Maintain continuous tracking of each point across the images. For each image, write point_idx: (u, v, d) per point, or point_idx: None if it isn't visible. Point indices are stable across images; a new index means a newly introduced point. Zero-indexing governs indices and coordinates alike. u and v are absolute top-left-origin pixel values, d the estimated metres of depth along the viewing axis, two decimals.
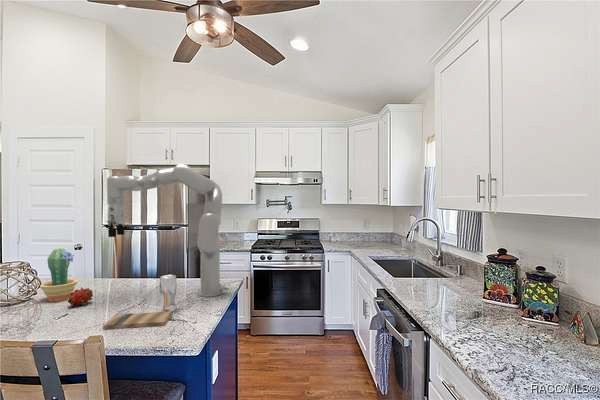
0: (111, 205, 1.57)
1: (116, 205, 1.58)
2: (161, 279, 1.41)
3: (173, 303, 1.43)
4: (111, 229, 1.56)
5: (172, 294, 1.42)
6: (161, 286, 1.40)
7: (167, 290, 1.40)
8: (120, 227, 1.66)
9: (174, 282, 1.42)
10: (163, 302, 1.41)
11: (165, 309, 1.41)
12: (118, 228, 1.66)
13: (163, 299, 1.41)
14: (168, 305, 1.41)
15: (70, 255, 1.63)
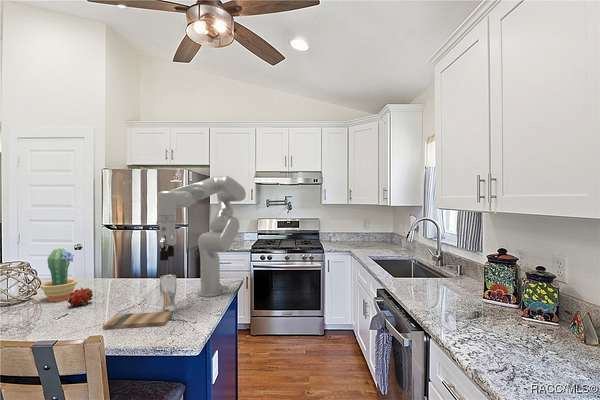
0: (163, 224, 1.39)
1: (168, 224, 1.39)
2: (161, 279, 1.41)
3: (173, 303, 1.43)
4: (164, 252, 1.37)
5: (172, 294, 1.42)
6: (161, 286, 1.40)
7: (167, 290, 1.40)
8: (170, 248, 1.48)
9: (174, 282, 1.42)
10: (163, 302, 1.41)
11: (165, 309, 1.41)
12: (168, 249, 1.47)
13: (163, 299, 1.41)
14: (168, 305, 1.41)
15: (70, 255, 1.63)
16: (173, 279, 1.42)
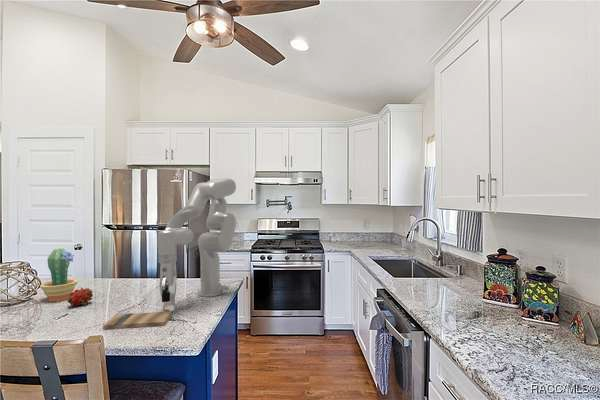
0: (164, 264, 1.39)
1: (169, 264, 1.39)
2: None
3: (173, 303, 1.43)
4: (165, 293, 1.39)
5: (172, 294, 1.42)
6: None
7: None
8: None
9: (174, 282, 1.42)
10: (163, 302, 1.41)
11: (165, 309, 1.41)
12: None
13: None
14: (167, 305, 1.41)
15: (70, 255, 1.63)
16: None
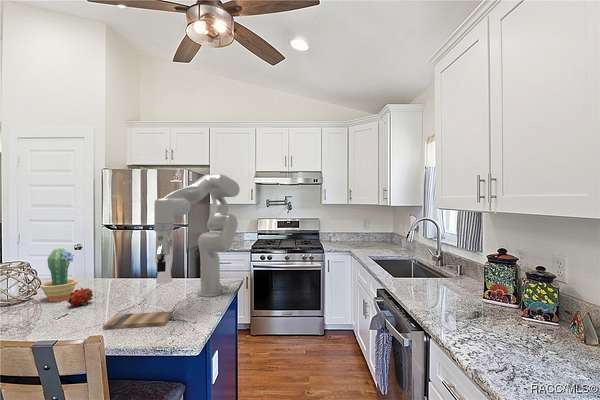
0: (160, 233, 1.34)
1: (165, 233, 1.34)
2: None
3: (169, 274, 1.38)
4: (161, 263, 1.34)
5: (168, 264, 1.37)
6: None
7: None
8: None
9: (170, 252, 1.37)
10: (158, 272, 1.36)
11: (160, 280, 1.35)
12: None
13: None
14: (163, 275, 1.36)
15: (70, 255, 1.63)
16: None
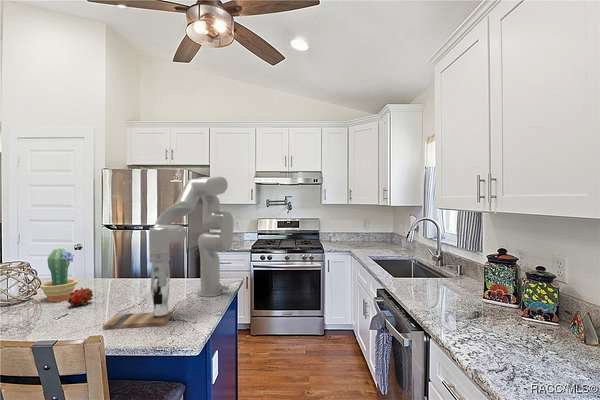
0: (155, 264, 1.28)
1: (161, 264, 1.29)
2: None
3: (166, 306, 1.32)
4: (157, 295, 1.28)
5: (165, 296, 1.31)
6: (152, 287, 1.30)
7: None
8: None
9: (167, 283, 1.32)
10: (155, 305, 1.30)
11: (157, 312, 1.30)
12: None
13: None
14: (160, 308, 1.30)
15: (70, 255, 1.63)
16: None
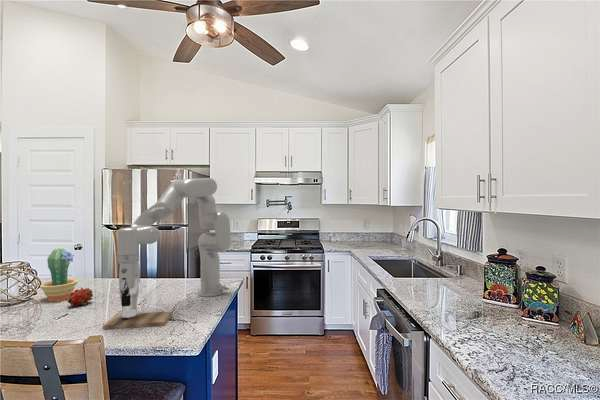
0: (123, 265, 1.26)
1: (129, 265, 1.27)
2: None
3: (135, 307, 1.30)
4: (125, 297, 1.26)
5: (134, 297, 1.30)
6: None
7: None
8: None
9: (136, 284, 1.30)
10: (123, 306, 1.29)
11: (125, 314, 1.28)
12: None
13: None
14: (128, 310, 1.29)
15: (70, 255, 1.63)
16: None
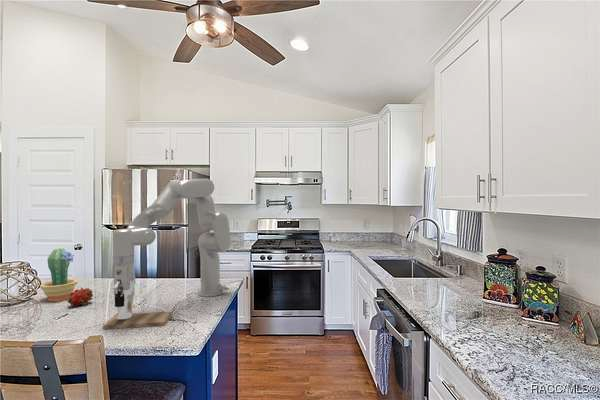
0: (118, 267, 1.26)
1: (124, 267, 1.27)
2: None
3: (130, 309, 1.30)
4: (119, 297, 1.25)
5: (129, 299, 1.29)
6: None
7: (123, 295, 1.28)
8: None
9: (131, 286, 1.30)
10: (118, 308, 1.28)
11: (120, 316, 1.28)
12: None
13: None
14: (123, 312, 1.28)
15: (70, 255, 1.63)
16: (130, 283, 1.29)
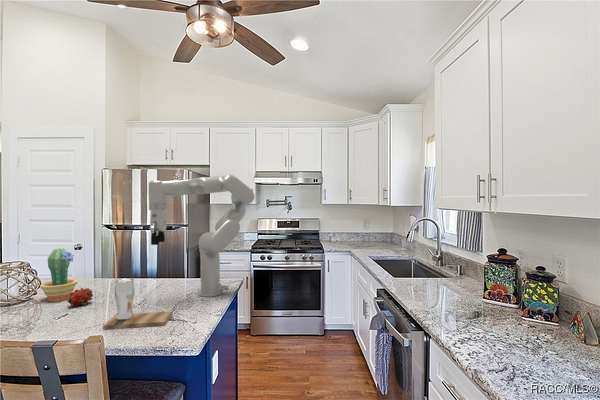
0: (154, 211, 1.49)
1: (159, 211, 1.49)
2: (116, 283, 1.28)
3: (130, 309, 1.30)
4: (154, 236, 1.48)
5: (129, 299, 1.29)
6: (116, 291, 1.28)
7: (123, 295, 1.28)
8: (161, 234, 1.58)
9: (131, 286, 1.30)
10: (118, 308, 1.28)
11: (120, 316, 1.28)
12: (159, 235, 1.58)
13: (118, 305, 1.28)
14: (123, 312, 1.28)
15: (70, 255, 1.63)
16: (130, 283, 1.29)
